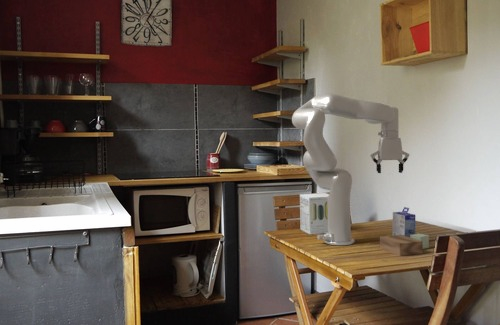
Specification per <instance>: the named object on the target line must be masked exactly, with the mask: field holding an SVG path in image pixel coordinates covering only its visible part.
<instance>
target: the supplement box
mask: <svg viewBox="0 0 500 325" xmlns="http://www.w3.org/2000/svg"><path fill="white" fill-rule="evenodd" d="M328 196H329V193H328V192H319V193H318V192H317V193H304V194H301V193H300V194H299V214H300V215H299V221H300V226H299V227H300V230H301V231H302V232H304V233H306V234H308V235H324V234H326V232H328V209H327V200H328Z"/></svg>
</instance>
